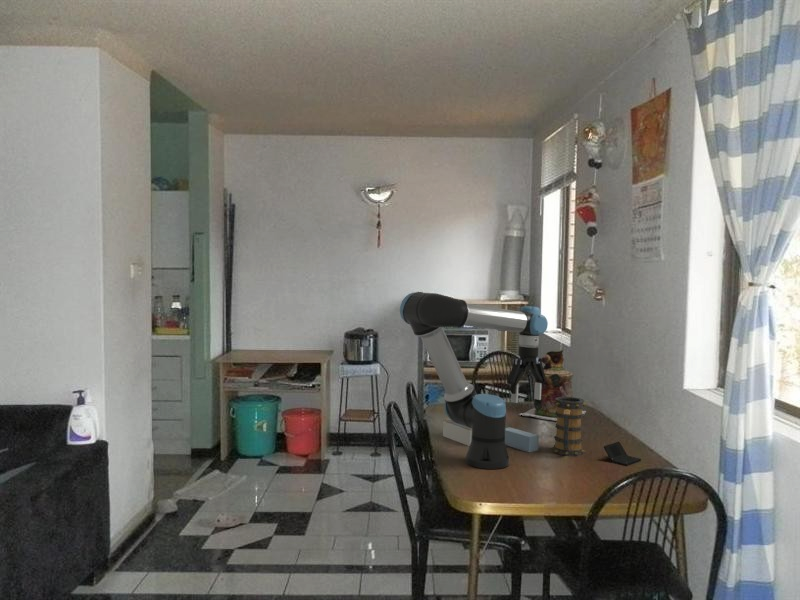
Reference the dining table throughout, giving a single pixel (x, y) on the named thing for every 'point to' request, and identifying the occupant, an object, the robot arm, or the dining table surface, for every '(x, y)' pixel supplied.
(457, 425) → the stand
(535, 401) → the cookie jar
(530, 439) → the blue-gray rectangular block
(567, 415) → the mug
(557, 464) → the dining table surface
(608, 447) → the handheld gaming console
